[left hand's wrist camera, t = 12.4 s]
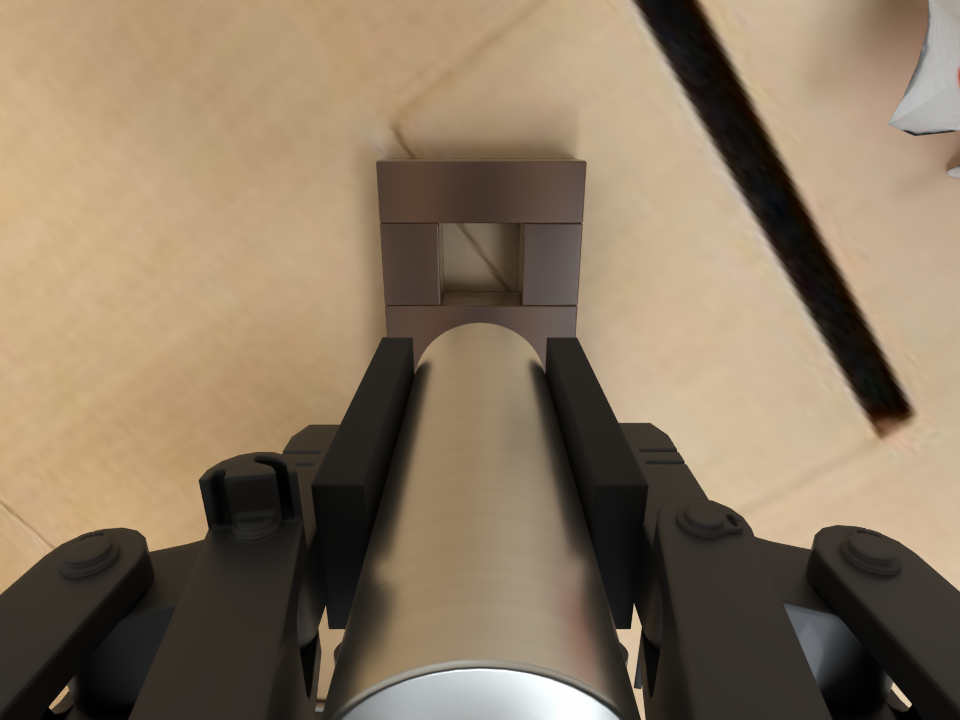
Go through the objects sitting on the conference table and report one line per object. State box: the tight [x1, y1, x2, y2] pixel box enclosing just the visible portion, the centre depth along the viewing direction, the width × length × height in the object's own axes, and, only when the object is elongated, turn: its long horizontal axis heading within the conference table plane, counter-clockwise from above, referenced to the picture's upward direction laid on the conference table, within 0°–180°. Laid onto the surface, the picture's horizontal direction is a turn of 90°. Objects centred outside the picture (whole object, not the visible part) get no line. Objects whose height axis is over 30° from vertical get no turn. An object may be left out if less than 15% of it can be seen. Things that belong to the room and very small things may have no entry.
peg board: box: [376, 159, 586, 374], centre depth 30 cm, size 10×24×9 cm, turn 0°
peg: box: [321, 323, 641, 720], centre depth 10 cm, size 3×3×10 cm
